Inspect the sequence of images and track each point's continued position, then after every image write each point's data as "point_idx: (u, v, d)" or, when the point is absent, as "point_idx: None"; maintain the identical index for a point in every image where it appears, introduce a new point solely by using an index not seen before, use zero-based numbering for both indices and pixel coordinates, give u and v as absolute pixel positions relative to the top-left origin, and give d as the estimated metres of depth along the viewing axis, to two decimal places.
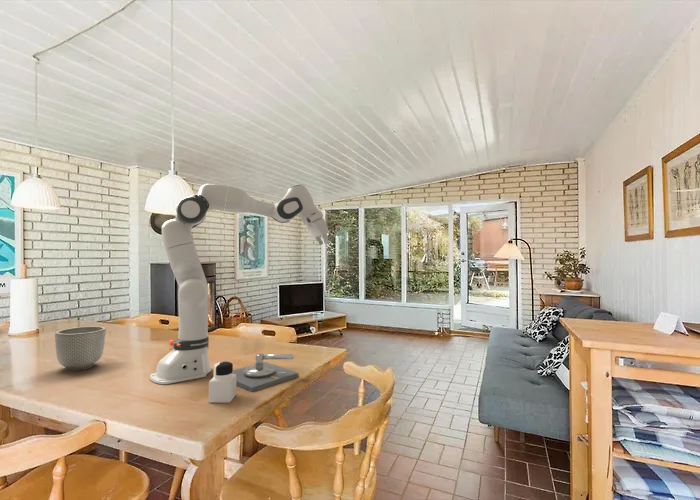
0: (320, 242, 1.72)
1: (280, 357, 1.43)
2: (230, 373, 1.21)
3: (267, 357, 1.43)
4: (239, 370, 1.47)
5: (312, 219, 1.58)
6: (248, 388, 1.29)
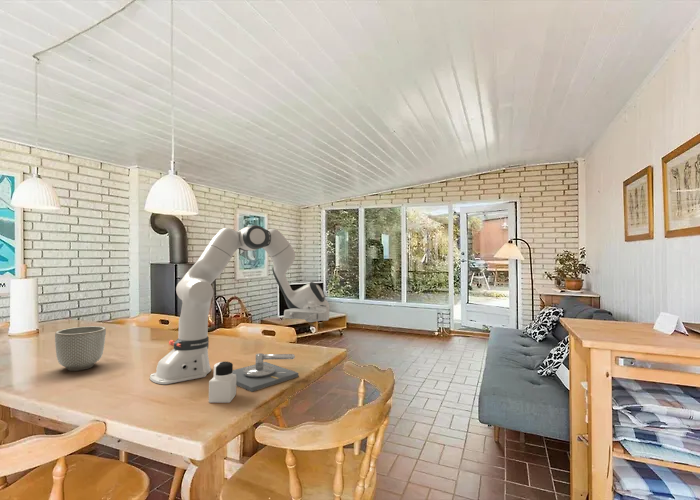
0: (292, 315, 1.56)
1: (280, 357, 1.43)
2: (230, 373, 1.21)
3: (267, 357, 1.43)
4: (239, 370, 1.47)
5: (328, 308, 1.65)
6: (248, 388, 1.29)
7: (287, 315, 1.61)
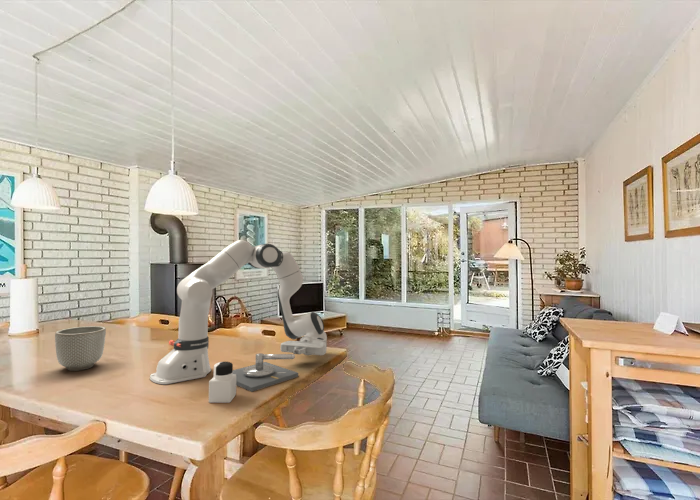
0: None
1: (280, 357, 1.43)
2: (230, 373, 1.21)
3: (267, 357, 1.43)
4: (239, 370, 1.47)
5: None
6: (248, 388, 1.29)
7: (284, 349, 1.58)
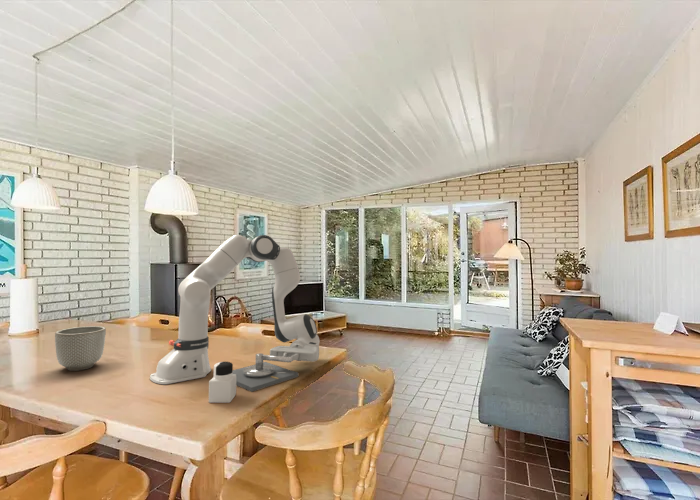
0: None
1: (277, 359, 1.40)
2: (230, 373, 1.21)
3: (265, 358, 1.42)
4: (239, 370, 1.47)
5: (318, 346, 1.52)
6: (248, 388, 1.29)
7: (273, 355, 1.48)
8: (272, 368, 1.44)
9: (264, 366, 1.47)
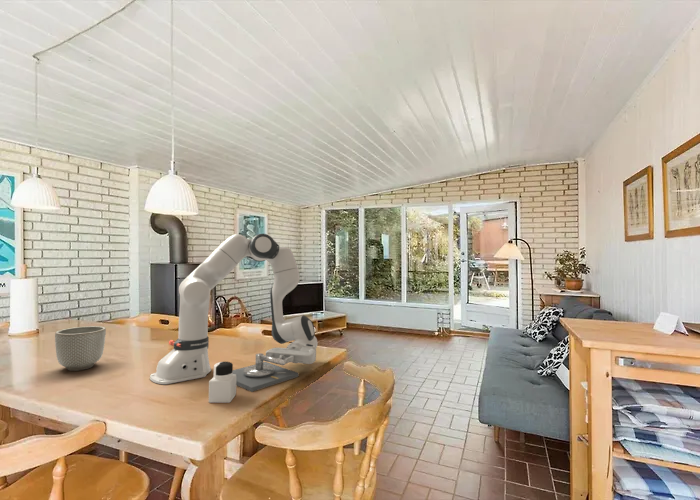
0: (282, 359, 1.40)
1: (272, 361, 1.38)
2: (230, 373, 1.21)
3: (263, 358, 1.41)
4: (239, 370, 1.47)
5: (315, 348, 1.49)
6: (248, 388, 1.29)
7: None
8: (271, 369, 1.43)
9: (266, 366, 1.46)
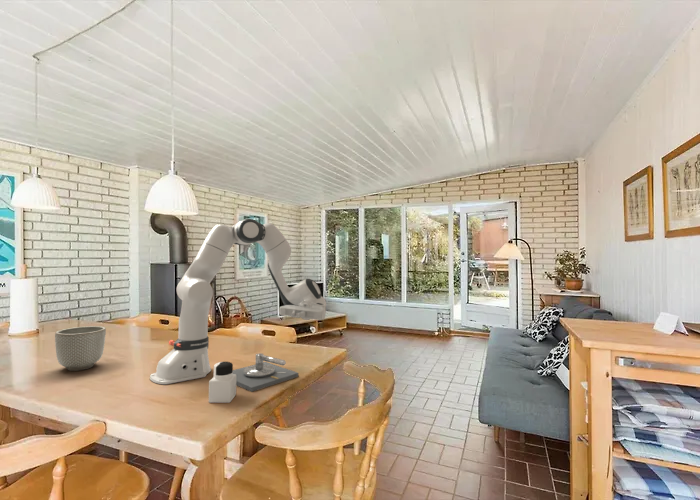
0: (295, 314, 1.52)
1: (272, 361, 1.38)
2: (230, 373, 1.21)
3: (263, 358, 1.41)
4: (239, 370, 1.47)
5: (325, 306, 1.61)
6: (248, 388, 1.29)
7: (282, 312, 1.57)
8: (271, 369, 1.43)
9: (266, 366, 1.46)
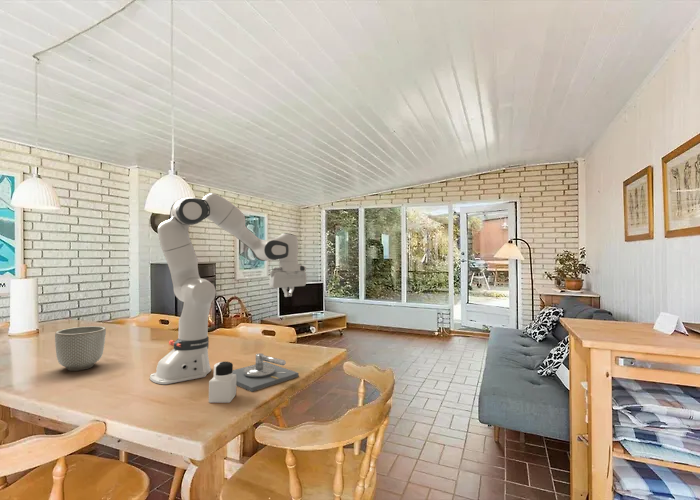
0: None
1: (272, 361, 1.38)
2: (230, 373, 1.21)
3: (263, 358, 1.41)
4: (239, 370, 1.47)
5: None
6: (248, 388, 1.29)
7: None
8: (271, 369, 1.43)
9: (266, 366, 1.46)
